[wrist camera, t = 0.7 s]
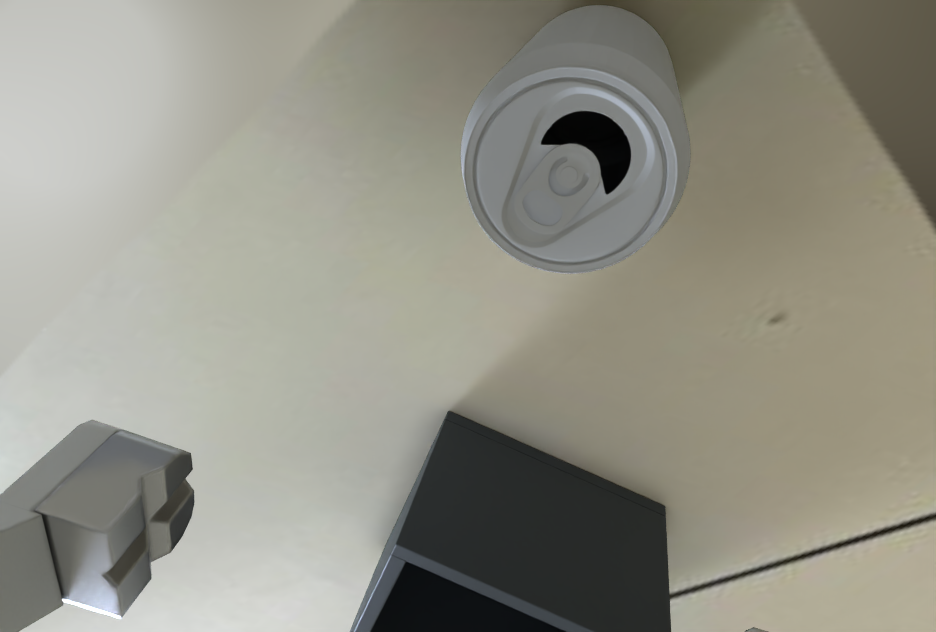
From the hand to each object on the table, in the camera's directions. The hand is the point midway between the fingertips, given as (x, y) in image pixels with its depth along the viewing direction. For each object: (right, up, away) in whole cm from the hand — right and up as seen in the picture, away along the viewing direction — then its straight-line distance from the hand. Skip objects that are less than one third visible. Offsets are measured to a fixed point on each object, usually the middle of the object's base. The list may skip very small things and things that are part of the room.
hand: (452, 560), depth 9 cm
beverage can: (+6, +13, +18) cm, 23 cm away
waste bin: (+3, -10, +32) cm, 34 cm away
